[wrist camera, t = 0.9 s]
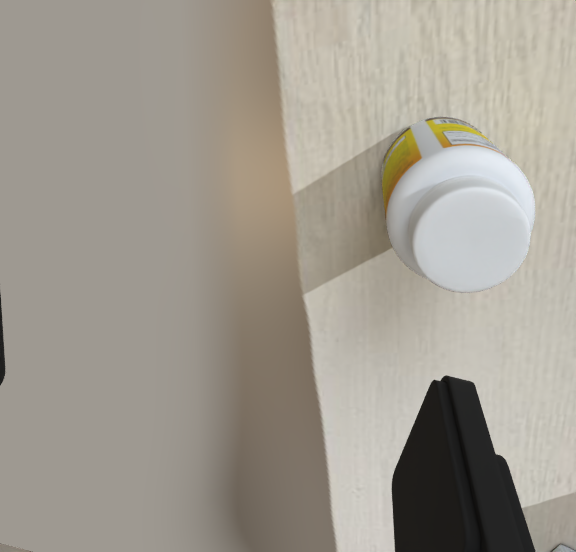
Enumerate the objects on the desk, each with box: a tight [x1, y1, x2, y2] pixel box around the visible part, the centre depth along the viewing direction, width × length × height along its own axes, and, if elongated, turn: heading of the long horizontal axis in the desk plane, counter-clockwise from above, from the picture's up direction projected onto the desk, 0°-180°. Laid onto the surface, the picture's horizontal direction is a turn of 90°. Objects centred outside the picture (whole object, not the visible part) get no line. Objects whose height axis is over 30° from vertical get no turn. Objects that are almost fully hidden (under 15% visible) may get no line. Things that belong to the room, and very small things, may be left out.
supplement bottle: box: [381, 117, 535, 293], centre depth 22 cm, size 6×6×10 cm
